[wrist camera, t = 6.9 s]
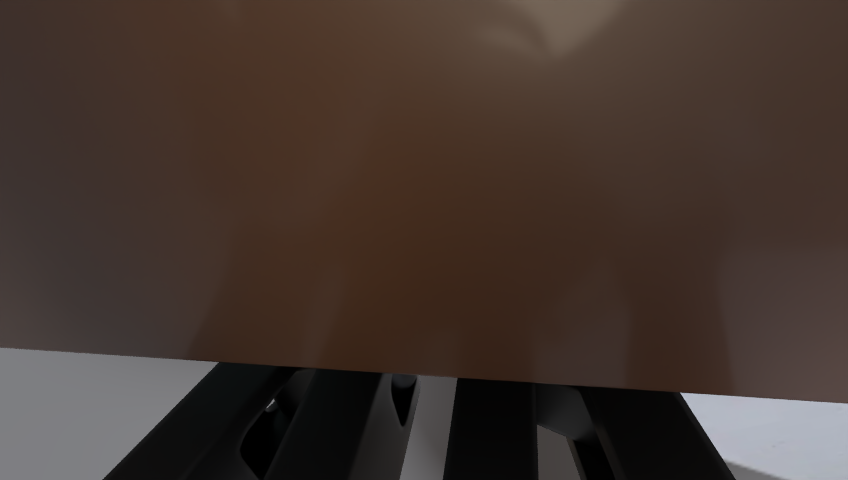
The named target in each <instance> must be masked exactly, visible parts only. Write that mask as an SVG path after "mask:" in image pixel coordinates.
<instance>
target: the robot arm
mask: <svg viewBox="0 0 848 480" xmlns="http://www.w3.org/2000/svg"><path fill="white" fill-rule="evenodd" d="M419 393H420V377H419V375H408V374H393V373H378V372H363V371H348V370H333V369H318V368H302V367H287V366H272V365H257V364H242V363H227V362H219V363H218V364H217V365H216V366H215V367H214V368H213V369H212V370H211V371H210V372H209V373H208V374H207V375H206V376H205V377H204V378H203V379H202V380H201V381H200V382H199V383H198V384H197V385H196V386H195V387H194V388H193V389H192V390H191V391H190V392H189V393H188V394H187V395H186V396H185V397H184V398H183V399H182V400H181V401H180V402H179V403H178V404H177V405H176V406H175V407H174V408H173V409H172V410H171V411H170V412H169V413H168V414H167V415H166V416H165V417H164V418H163V419H162V420H161V421H160V422H159V423H158V424H157V425H156V426H155V427H154V428H153V429H152V430H151V431H150V432H149V433H148V434H147V436H145V437H144V438H143V439H142V440H141V442H139V444H137V446H136V447H135V448H134V449H132V451H130V453H129V454H128V455H127V456H126V457H125V458H124V459H123V460H122V461H121V462H120V463H119V464H118V465H117V466H116V467H115V468H114V469H113V470H112V471H111V472H110V473H109V474H108V475H107V476H106V477H105V478H104V479H103V480H399V479H400V475H401V471H402V466H403V462H404V458H405V453H406V449H407V445H408V440H409V436H410V432H411V428H412V423H413V419H414V414H415V410H416V406H417V402H418V397H419ZM273 399H274V400H275V401H274V403H273V404H271V405H270V406H269V407H268V408H267V406H268V405H269V404H270V403H271V401H272V400H273ZM537 425H540V426H542V427H544V428H547V429H549V430H551V431H554V432H556V433H558V434H561V435H563V436H566V438H567V442H568V444H569V447H570V450H571V453H572V456H573V459H574V462H575V465H576V467H577V470H578V473H579V476H580V479H581V480H736V479H735V478H734V476H733V475H732V473H731V471H730V470H729V468H728V467H727V465H726V464H725V462H724V461H723V459H722V457H721V456H720V454H719V453H718V451H717V450H716V448H715V447H714V445H713V443H712V442H711V440H710V439H709V437H708V436H707V434H706V432H705V431H704V429H703V428H702V426H701V425H700V423H699V422H698V420H697V418H696V417H695V415H694V414H693V412H692V411H691V409H690V408H689V406H688V404H687V403H686V401H685V400H684V398H683V397H682V395H681V394H680V392H666V391H651V390H636V389H620V388H605V387H590V386H575V385H560V384H545V383H530V382H514V381H499V380H484V379H469V378H458V379H457V386H456V393H455V400H454V406H453V414H452V421H451V427H450V434H449V441H448V448H447V456H446V462H445V469H444V475H443V480H538V449H537Z"/></svg>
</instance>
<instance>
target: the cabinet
mask: <svg viewBox="0 0 848 480" xmlns="http://www.w3.org/2000/svg"><path fill="white" fill-rule="evenodd" d="M0 347H1V348H15V349H30V350H45V351H61V352H75V353H92V354H107V355H121V356H136V357H151V358H168V359H183V360H196V361H212V362H227V363H242V364H257V365H272V366H287V367H302V368H318V369H333V370H348V371H363V372H378V373H393V374H408V375H424V376H439V377H454V378H469V379H484V380H499V381H514V382H530V383H545V384H560V385H575V386H590V387H605V388H620V389H636V390H651V391H666V392H681V393H696V394H711V395H726V396H742V397H757V398H772V399H787V400H802V401H817V402H832V403H848V0H0Z"/></svg>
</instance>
